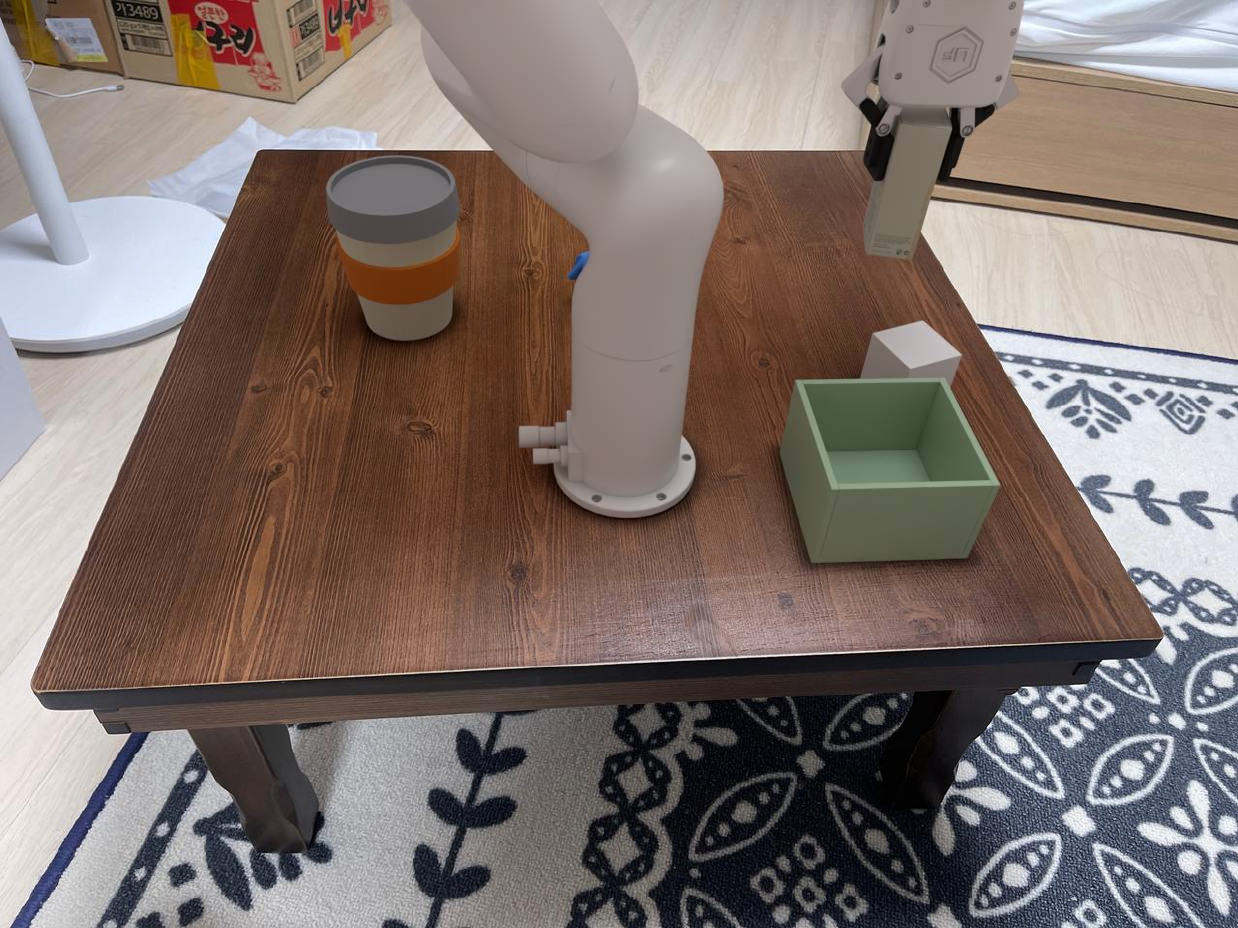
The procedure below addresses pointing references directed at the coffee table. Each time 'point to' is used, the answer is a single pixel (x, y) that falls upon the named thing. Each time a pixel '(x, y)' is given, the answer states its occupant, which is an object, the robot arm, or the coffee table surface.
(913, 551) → the bin
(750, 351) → the coffee table surface
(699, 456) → the coffee table surface
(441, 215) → the reusable coffee cup
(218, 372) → the coffee table surface
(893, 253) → the cosmetic box
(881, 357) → the white cube
